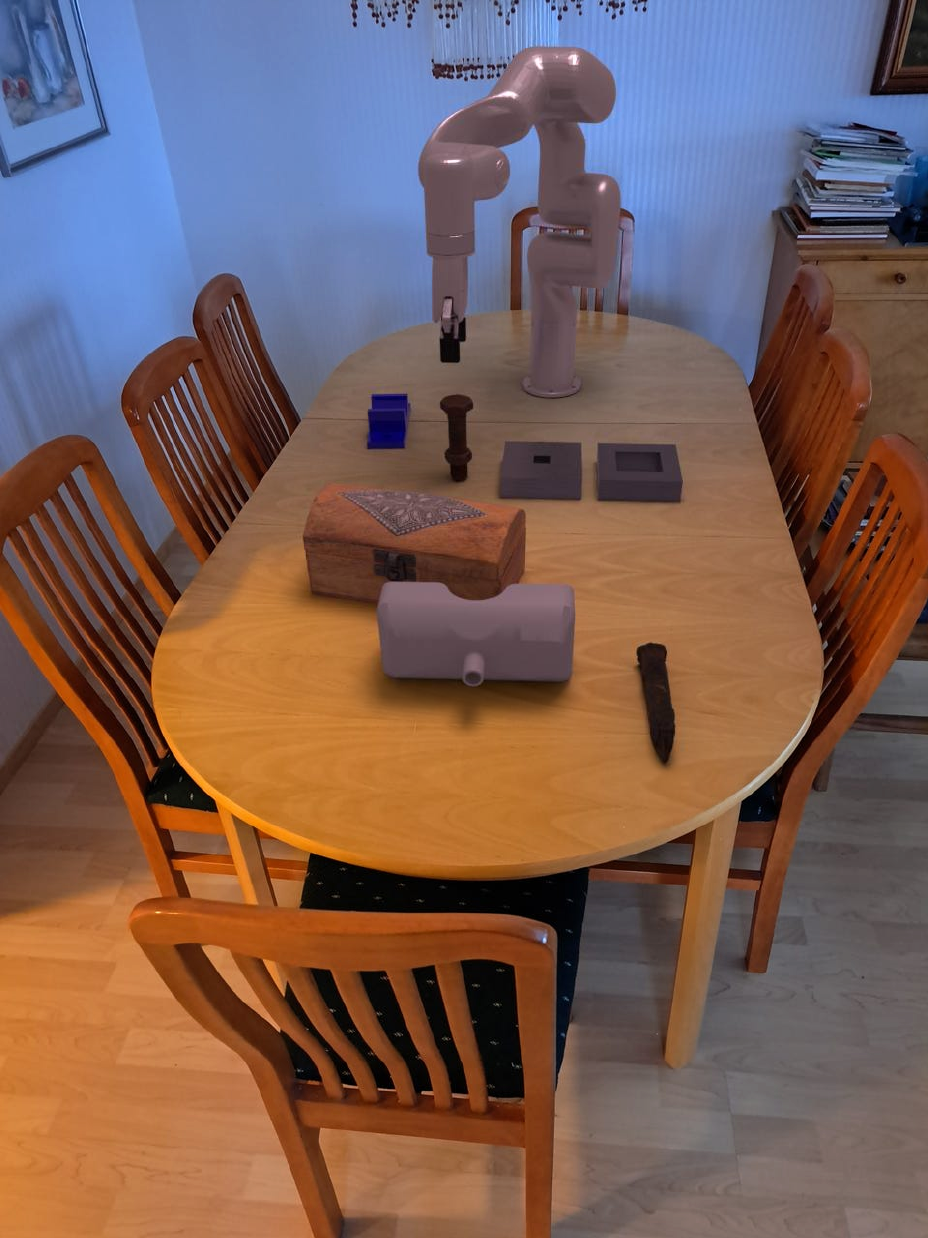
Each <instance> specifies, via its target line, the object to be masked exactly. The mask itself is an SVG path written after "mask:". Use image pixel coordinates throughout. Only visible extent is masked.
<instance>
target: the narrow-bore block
mask: <svg viewBox="0 0 928 1238" xmlns="http://www.w3.org/2000/svg"><path fill="white" fill-rule="evenodd" d="M582 458H583V457H582V442H571V441H569V442H568V441H567V442H566V441H558V442H557V441H554V442H553V441H515V440H513V441H508V440H505V441H504V447H503V455H502V462H501V469H500V477H499V479H500V480H499V482H500V483H499V486H500V487H499V488H500V489H499V492H500V494H499V495H500V497H499V498H500V499H535V500H540V499H541V500H570V501H571V500H572V501H573V500H575V501H577V500H578V501H582V500H581V499H582V485H583V484H582V482H583V474H582V472H583V471H582V470H583V469H582V466H583V465H582V464H583V462H582Z"/></svg>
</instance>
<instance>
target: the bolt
mask: <svg viewBox="0 0 928 1238" xmlns="http://www.w3.org/2000/svg"><path fill="white" fill-rule="evenodd" d="M439 409H440V410H441V411H442V412H443V413H445V415H446V416H447V417H446V418H447V424H448V430H447V431H448V448H447V449H445V451H444V459H445V461H446V463H447V464H449V475H450V476H451V478H452V480H453V481H457V480H458V481H459V482H461V481H462V482H463V481H464V480H466V479H467V477H468V473H469V471H468V464H469V463H470V462H471V460H473V452H472V450H471V449H470V448H469V447H468V442H467V413H469V412H470V411H472V410H473V409H474V402H473V400H472V399H471V398H470V397H469V396H467V395H464V394H459V393H457V394H450V395H447V396H444V397H443V398H441V400H440V401H439Z"/></svg>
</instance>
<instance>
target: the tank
mask: <svg viewBox="0 0 928 1238" xmlns="http://www.w3.org/2000/svg"><path fill="white" fill-rule="evenodd" d="M575 600H576V599H575V589H574V588H573V587H572V586H571V585H568V584H563V583H560V584H559V583H555V584H554V583H518V584H512V585H509V586H508V587H506V589H505V590H504V591H503V592H502V593H501V594H499V595H498V596H496V597H493V598H490V599H486V600H466V599H462V598H459V597H457V596H455V595H454V594H452V593H451V592H450V591H449V590H448V588H447V586H446V585H444V584H442V583H438V582H387V583H385V584H384V585H383V586H382V590H381V594H380V598H379V602H378V604H377V607H376V617H377V618H376V620H377V630H378V639H379V646H380V656H381V667H382V671H383V673H384V675H385V676H387V677H388V678H392V679H416V680H417V679H419V680H420V679H421V680H422V679H423V680H425V679H426V680H427V679H428V680H461V681H463V683H464V684H466V685H467V686H469V687H477V686H479V685H481V684H482V683H484V681H508V682H509V681H511V682H513V681H515V682H550V683H551V682H553V683H555V682H557V683H558V682H559V683H561V682H566V681H568V680H569V679H570V678H571V677H572V674H573V663H574V661H573V660H574V645H575V629H576V603H575Z"/></svg>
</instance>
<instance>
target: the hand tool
mask: <svg viewBox="0 0 928 1238" xmlns="http://www.w3.org/2000/svg"><path fill="white" fill-rule="evenodd" d="M635 655H636V656H637V662H638V667H639V670H640V672H641V673H640V676H641V677H640V678H641V681H642V683H643V692H644V696H645V697H644V698H645V703H646V708H647V709H646V710H647V715H648V716H647V717H648V721H649V734H650V735H649V736H650V738H651V739H650V740H651V743H652V745H653V747H654V750H655V752H656V754H657V755H658V757H659V759H660V761H661V762H662V764H664V765H665V764H667V763H668V761H669V757H670V754H671V753H672V751H673V745H674V738H675V736H676V724H675V720H676V716H675V714H676V713H675V709H674V708H673V705H672V696H671V688H670V682H669V675H668V666H667V663H666V662H667V656H668V650H667V647H666V645H664V644H662V643H657V642H655V643H654V642H652V641H650V642H648V643H645V644H641V645H640V646H638V647H637V648H636V653H635Z"/></svg>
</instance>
